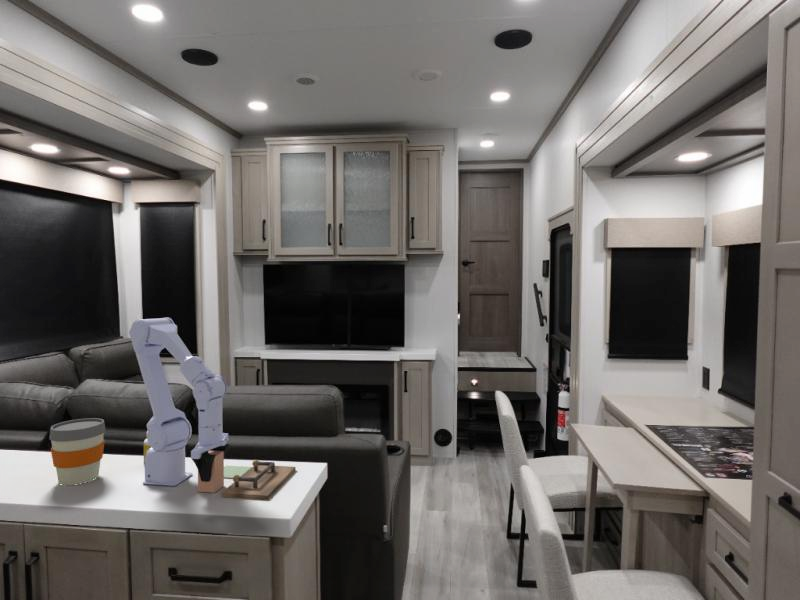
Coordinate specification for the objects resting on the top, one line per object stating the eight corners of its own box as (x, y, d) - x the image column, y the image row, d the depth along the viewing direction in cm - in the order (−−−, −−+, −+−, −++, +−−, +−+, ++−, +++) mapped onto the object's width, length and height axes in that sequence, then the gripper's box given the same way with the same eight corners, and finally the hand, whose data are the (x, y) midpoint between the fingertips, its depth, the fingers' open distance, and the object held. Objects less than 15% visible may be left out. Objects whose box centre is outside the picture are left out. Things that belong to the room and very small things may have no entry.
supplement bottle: (155, 468, 136) (155, 434, 136) (139, 466, 137) (139, 433, 137) (168, 461, 141) (168, 428, 141) (152, 460, 142) (152, 427, 142)
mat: (211, 477, 129) (211, 476, 129) (226, 466, 137) (226, 465, 137) (238, 479, 128) (238, 477, 128) (252, 467, 136) (252, 466, 136)
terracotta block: (198, 491, 120) (197, 456, 120) (207, 484, 124) (207, 450, 124) (214, 492, 119) (214, 457, 119) (223, 485, 124) (223, 451, 123)
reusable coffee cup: (37, 486, 124) (36, 429, 123) (80, 468, 136) (79, 416, 135) (76, 491, 121) (75, 432, 120) (117, 472, 133) (116, 419, 132)
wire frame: (221, 496, 117) (221, 481, 117) (255, 468, 136) (255, 454, 136) (267, 499, 115) (267, 483, 115) (295, 470, 134) (295, 456, 134)
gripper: (209, 433, 114) (210, 489, 114) (238, 417, 128) (239, 467, 128) (182, 432, 115) (183, 488, 115) (214, 416, 129) (214, 466, 129)
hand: (211, 477), depth 122 cm, fingers closed on terracotta block, 4 cm apart
